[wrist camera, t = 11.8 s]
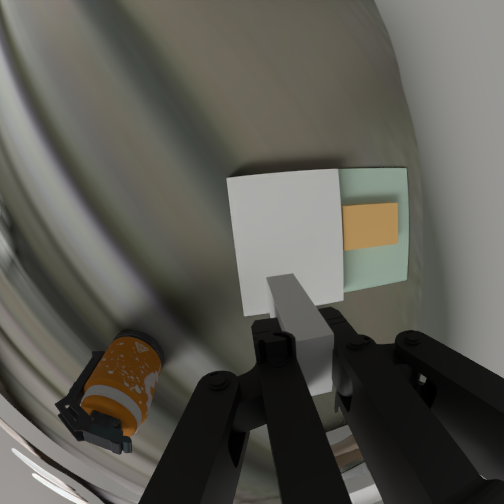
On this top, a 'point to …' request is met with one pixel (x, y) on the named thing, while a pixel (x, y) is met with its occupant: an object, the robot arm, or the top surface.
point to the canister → (113, 392)
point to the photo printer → (355, 471)
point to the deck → (287, 234)
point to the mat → (380, 257)
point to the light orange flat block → (369, 224)
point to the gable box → (346, 452)
